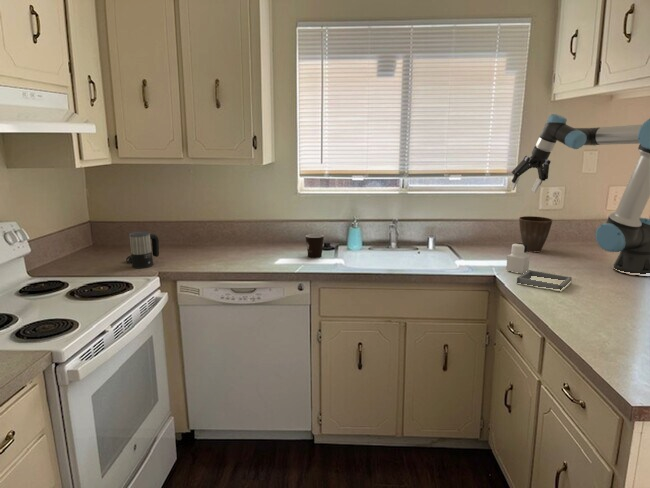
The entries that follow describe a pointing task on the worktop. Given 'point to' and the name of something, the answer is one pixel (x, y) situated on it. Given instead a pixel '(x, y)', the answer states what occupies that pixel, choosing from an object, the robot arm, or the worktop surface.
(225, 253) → the worktop surface
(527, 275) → the tray
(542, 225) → the plant pot
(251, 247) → the worktop surface
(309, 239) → the coffee mug
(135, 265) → the milk frother
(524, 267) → the medicine bottle
